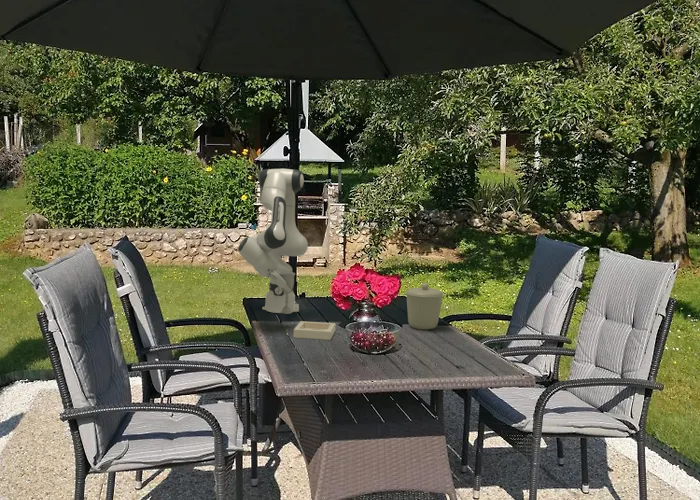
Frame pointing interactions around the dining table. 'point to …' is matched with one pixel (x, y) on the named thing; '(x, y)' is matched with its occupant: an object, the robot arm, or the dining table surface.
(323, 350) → the dining table surface
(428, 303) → the canister
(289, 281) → the chalice
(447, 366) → the dining table surface
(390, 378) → the dining table surface
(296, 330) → the tray
